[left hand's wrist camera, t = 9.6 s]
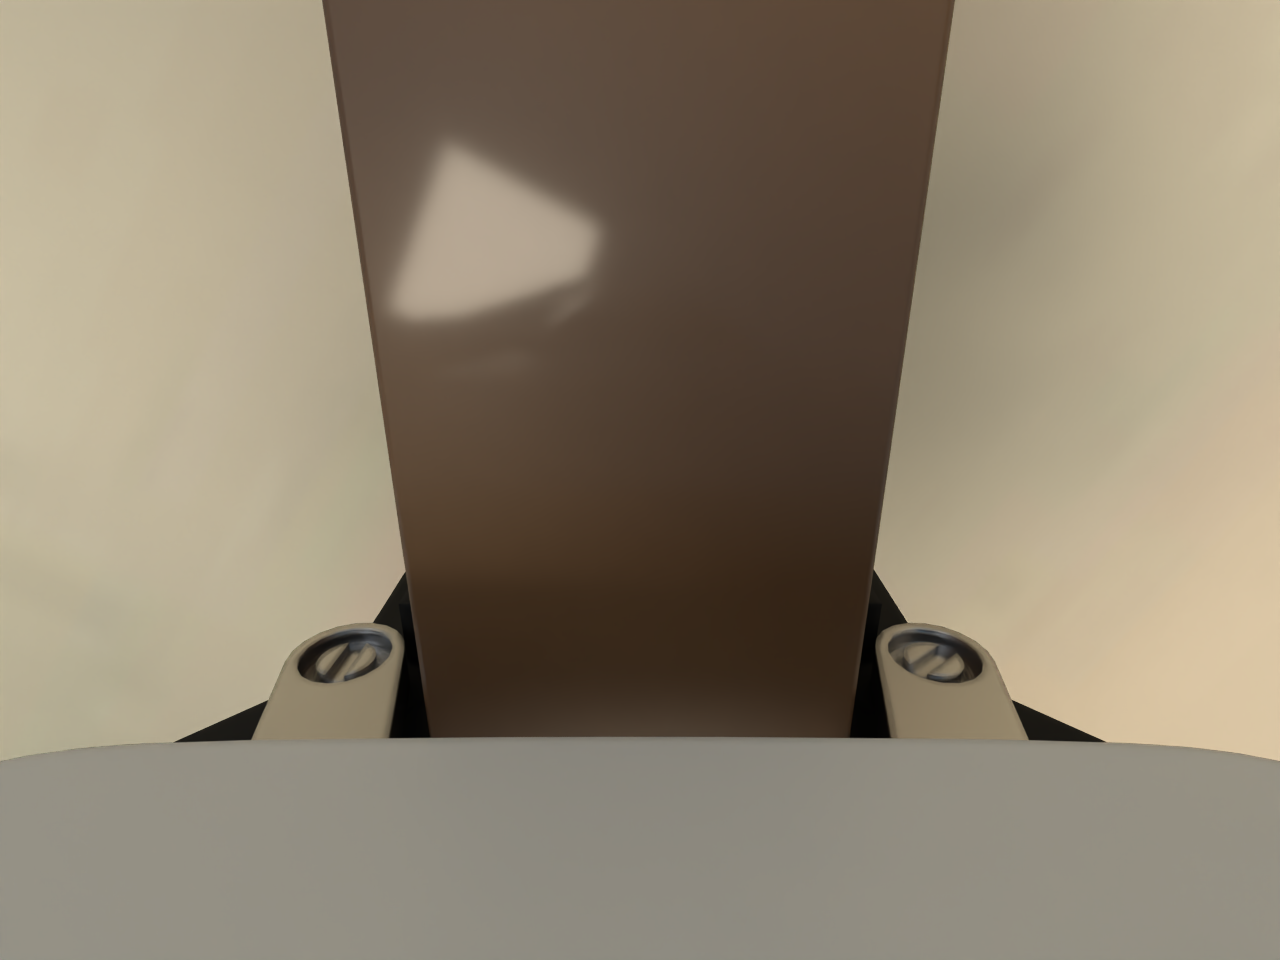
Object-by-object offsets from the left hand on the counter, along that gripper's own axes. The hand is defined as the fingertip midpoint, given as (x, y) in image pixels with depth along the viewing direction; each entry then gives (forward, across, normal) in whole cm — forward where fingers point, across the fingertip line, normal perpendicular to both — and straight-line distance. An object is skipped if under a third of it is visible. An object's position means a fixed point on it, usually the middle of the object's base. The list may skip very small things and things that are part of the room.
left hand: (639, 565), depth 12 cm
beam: (+3, 0, -27) cm, 28 cm away
